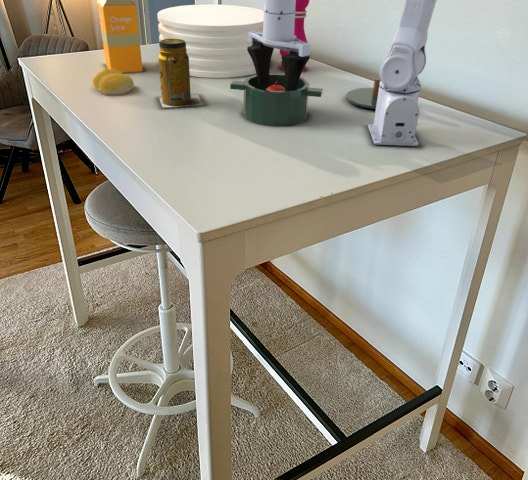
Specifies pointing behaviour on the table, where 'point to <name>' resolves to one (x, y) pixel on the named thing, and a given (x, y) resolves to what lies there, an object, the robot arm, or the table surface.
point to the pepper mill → (298, 24)
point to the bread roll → (112, 82)
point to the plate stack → (213, 37)
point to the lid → (365, 95)
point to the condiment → (175, 75)
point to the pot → (275, 101)
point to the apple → (276, 87)
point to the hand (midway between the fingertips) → (276, 88)
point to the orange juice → (120, 35)
